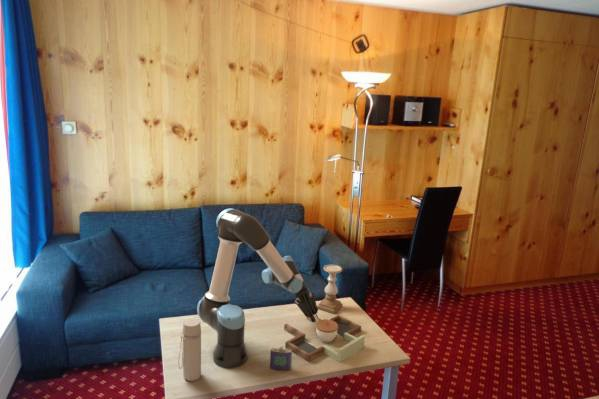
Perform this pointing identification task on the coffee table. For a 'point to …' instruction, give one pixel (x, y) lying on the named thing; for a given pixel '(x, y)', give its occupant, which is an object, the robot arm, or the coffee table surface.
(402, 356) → the coffee table surface
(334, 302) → the candle holder
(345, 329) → the track
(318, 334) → the lidded jar
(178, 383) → the coffee table surface
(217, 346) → the robot arm
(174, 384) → the coffee table surface
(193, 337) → the water bottle
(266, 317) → the coffee table surface
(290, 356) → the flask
